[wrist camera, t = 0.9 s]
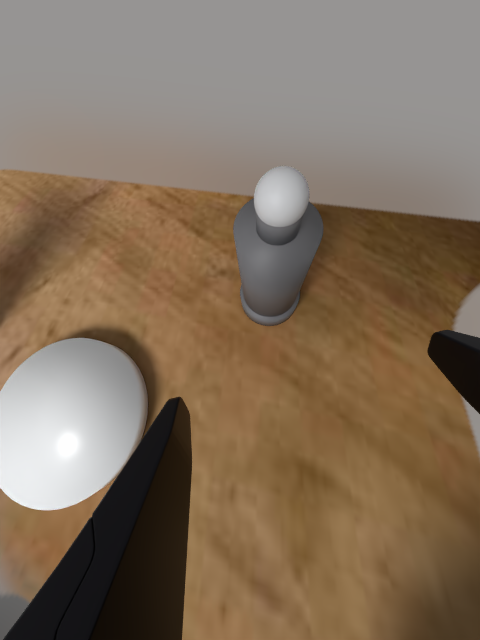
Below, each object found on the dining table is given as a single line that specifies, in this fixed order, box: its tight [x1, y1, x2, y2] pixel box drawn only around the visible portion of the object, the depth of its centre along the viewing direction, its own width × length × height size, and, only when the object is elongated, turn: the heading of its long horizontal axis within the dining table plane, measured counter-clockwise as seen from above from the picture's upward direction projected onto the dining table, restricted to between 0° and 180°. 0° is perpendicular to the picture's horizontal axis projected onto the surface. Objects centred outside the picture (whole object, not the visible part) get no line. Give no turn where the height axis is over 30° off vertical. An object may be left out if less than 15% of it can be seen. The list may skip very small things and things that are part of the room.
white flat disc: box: [0, 338, 148, 510], centre depth 21 cm, size 14×14×2 cm
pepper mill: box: [233, 166, 323, 326], centre depth 16 cm, size 6×6×14 cm
